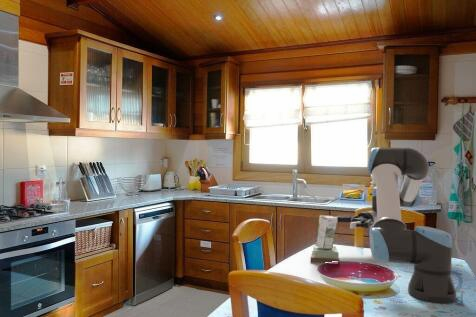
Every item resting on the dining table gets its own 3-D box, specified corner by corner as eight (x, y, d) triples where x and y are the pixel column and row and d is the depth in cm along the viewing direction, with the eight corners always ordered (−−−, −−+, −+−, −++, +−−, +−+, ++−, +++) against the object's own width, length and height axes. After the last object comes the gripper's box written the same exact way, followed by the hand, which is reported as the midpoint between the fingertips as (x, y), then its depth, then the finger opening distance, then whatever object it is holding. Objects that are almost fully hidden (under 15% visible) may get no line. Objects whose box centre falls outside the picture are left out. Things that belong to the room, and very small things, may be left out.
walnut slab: (338, 266, 175) (338, 259, 175) (310, 264, 178) (310, 257, 178) (338, 259, 187) (338, 252, 187) (312, 257, 190) (312, 250, 190)
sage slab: (337, 258, 177) (338, 252, 177) (314, 257, 178) (315, 250, 178) (335, 252, 187) (335, 246, 187) (313, 251, 188) (313, 245, 188)
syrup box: (324, 245, 186) (329, 215, 186) (333, 249, 181) (337, 217, 181) (314, 245, 184) (319, 214, 183) (323, 249, 178) (327, 217, 178)
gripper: (389, 231, 190) (360, 236, 178) (347, 222, 210) (318, 226, 198) (389, 215, 190) (361, 219, 177) (347, 208, 210) (319, 211, 198)
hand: (338, 223), depth 188 cm, fingers open, 13 cm apart
